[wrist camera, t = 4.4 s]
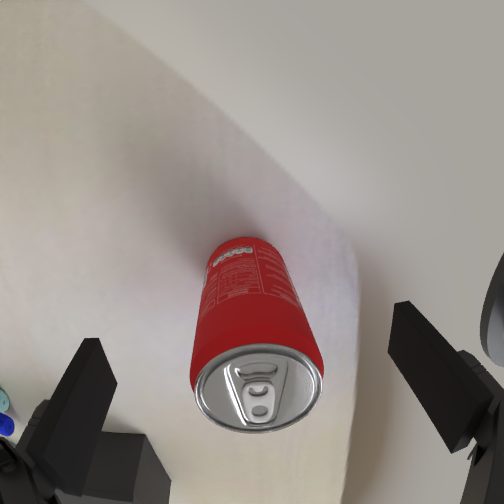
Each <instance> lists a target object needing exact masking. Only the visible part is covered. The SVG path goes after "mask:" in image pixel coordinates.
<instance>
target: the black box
mask: <svg viewBox="0 0 504 504" xmlns="http://www.w3.org/2000/svg"><path fill="white" fill-rule="evenodd" d="M170 486H171V480H170V478H169V476H168V475H167V473H166V471H165V470H164V468H163V466H162V464H161V463H160V461H159V459H158V457H157V456H156V454H155V452H154V450H153V448H152V446H151V445H150V443H149V441H148V439H147V437H146V435H145V434H123V433H108V432H101V433H100V436H99V439H98V443H97V446H96V449H95V452H94V455H93V459H92V462H91V465H90V469H89V472H88V475H87V479H86V482H85V486H84V489H83V493H82V497H77V496H73V495H68V494H64V493H63V492H62V491H61V490H60V489H59V488H58V487H57V486H56V489H55V493H56V495H57V496H58V497H59V499H60V501H61V503H62V504H169V495H170Z"/></svg>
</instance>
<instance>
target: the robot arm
mask: <svg viewBox="0 0 504 504" xmlns="http://www.w3.org/2000/svg"><path fill="white" fill-rule="evenodd" d="M388 354H389V355H390V356H391V358H392V359H393V361H394V363H395V364H396V366H397V367H398V369H399V370H400V372H401V373H402V374H403V376H404V378H405V380H406V381H407V382H408V384H409V386H410V387H411V389H412V390H413V392H414V394H415V395H416V397H417V398H418V400H419V402H420V403H421V405H422V406H423V408H424V409H425V411H426V412H427V414H428V416H429V418H430V419H431V421H432V422H433V424H434V426H435V427H436V429H437V431H438V432H439V434H440V436H441V437H442V439H443V440H444V442H445V444H446V446H447V447H448V449H449V451H450V453H451V454H452V453H454V452H456V451H459V450H461V449H463V448H465V447H467V446H468V444H469V443H470V441H471V439H472V438H473V437H474V438H475V440H476V442H477V443H476V445H475V447H474V448H473V450H472V451H471V453H470V454H469V456H468V458H467V459H468V460H470V458H471V456H472V455H473V456H472V461H471V465H470V470H469V473H468V477H467V481H466V485H465V489H464V492H463V496H462V499H461V502H460V504H504V389H503V388H502V387H501V386H500V384H499V383H498V382H497V381H496V380H495V379H494V378H493V376H492V375H491V374H490V373H489V372H488V371H486V369H485V368H484V366H483V365H481V363H480V362H479V361H478V360H477V359H476V358H475V357H474V356H473V355H472V354H470V353H468V352H466V351H465V350H462V351H458V352H457V351H456V350H455V349H454V348H453V347H452V346H451V345H450V344H449V343H448V342H447V340H446V339H445V338H444V337H443V336H442V335H441V334H440V333H439V332H438V331H437V330H436V329H435V327H434V326H433V325H432V324H431V323H430V322H429V321H428V320H427V319H426V318H425V317H424V316H423V315H422V314H421V313H420V312H419V311H418V310H417V308H416V307H415V306H414V305H413V304H412V303H411V302H410V301H405V302H399V303H395V304H394V312H393V320H392V327H391V334H390V340H389V346H388ZM117 384H118V383H117V381H116V379H115V377H114V374H113V372H112V370H111V367H110V365H109V362H108V360H107V358H106V355H105V353H104V350H103V348H102V345H101V342H100V340H99V338H84V340H83V342H82V343H81V345H80V347H79V348H78V350H77V352H76V354H75V355H74V357H73V359H72V361H71V362H70V364H69V366H68V368H67V369H66V371H65V373H64V375H63V377H62V378H61V380H60V382H59V384H58V386H57V388H56V389H55V391H54V393H53V395H52V397H51V399H50V400H45V399H44V400H43V401H42V402H41V403H40V404H39V405H38V406H37V407H36V409H35V411H34V413H33V415H32V416H31V417H32V418H30V420H29V422H28V426H26V428H25V430H24V432H23V434H22V436H21V438H20V440H19V442H18V444H17V446H16V448H15V449H14V447H13V446H12V445H11V444H10V442H9V441H8V440H7V439H5V438H4V437H0V504H62V503H61V501H60V499H59V497H58V496H57V495H56V493H55V489H56V486H57V487H58V488H59V489H60V490H61V491H62V492H63V493H64V494H68V495H73V496H77V497H82V493H83V489H84V486H85V482H86V479H87V475H88V472H89V469H90V465H91V462H92V459H93V455H94V452H95V449H96V446H97V443H98V439H99V436H100V433H101V430H102V427H103V424H104V421H105V418H106V415H107V412H108V409H109V407H110V404H111V401H112V398H113V395H114V392H115V390H116V387H117Z"/></svg>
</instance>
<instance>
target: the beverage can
mask: <svg viewBox="0 0 504 504" xmlns="http://www.w3.org/2000/svg"><path fill="white" fill-rule="evenodd" d="M323 374H324V365H323V360H322V357H321V354H320V351H319V349H318V346H317V344H316V341H315V339H314V336H313V333H312V331H311V328H310V326H309V323H308V321H307V318H306V316H305V313H304V311H303V308H302V306H301V303H300V301H299V298H298V296H297V293H296V291H295V288H294V286H293V283H292V281H291V278H290V276H289V273H288V271H287V268H286V266H285V264H284V261H283V259H282V257H281V255H280V254H279V252H278V251H277V250H276V249H275V248H274V247H273V246H272V245H270V244H269V243H267V242H265V241H263V240H261V239H258V238H253V237H240V238H235V239H232V240H229V241H227V242H225V243H224V244H222V245H221V246H219V247H218V248H217V249H216V250H215V251H214V253H213V254H212V255H211V257H210V259H209V261H208V264H207V267H206V273H205V279H204V285H203V290H202V296H201V302H200V309H199V315H198V321H197V327H196V334H195V340H194V347H193V353H192V360H191V367H190V383H191V387H192V390H193V392H194V395H195V400H196V403H197V405H198V407H199V409H200V410H201V412H202V413H203V414H204V415H205V416H206V417H207V418H208V419H209V420H210V421H212V422H213V423H215V424H217V425H218V426H221V427H223V428H225V429H228V430H231V431H235V432H240V433H250V434H258V433H268V432H273V431H277V430H281V429H284V428H286V427H289V426H291V425H293V424H295V423H297V422H298V421H300V420H301V419H303V418H304V417H306V416H307V415H308V414H309V413H310V412H311V411H312V410H313V409H314V407H315V406H316V404H317V403H318V401H319V399H320V396H321V393H322V388H323V381H322V379H323Z"/></svg>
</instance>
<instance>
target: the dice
mask: <svg viewBox="0 0 504 504" xmlns="http://www.w3.org/2000/svg"><path fill="white" fill-rule="evenodd" d="M8 407H9V400H8V397H7V395H6V394H5V393H4V391H2V390H1V389H0V434H2V435H5V436H10V435H11V434H12V433H13V432H14V422H13V420H12V419H11V418H10V417H8V416H7V415H5V414H3V412H5V411H6V410H7V409H8Z"/></svg>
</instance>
